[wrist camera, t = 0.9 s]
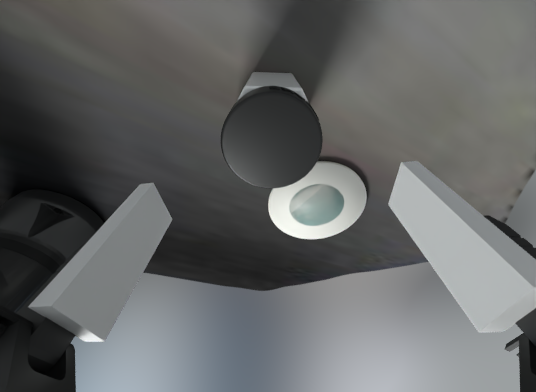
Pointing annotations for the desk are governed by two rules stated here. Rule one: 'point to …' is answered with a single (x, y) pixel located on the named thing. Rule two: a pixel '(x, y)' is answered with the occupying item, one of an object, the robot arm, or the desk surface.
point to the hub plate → (319, 202)
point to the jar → (271, 132)
